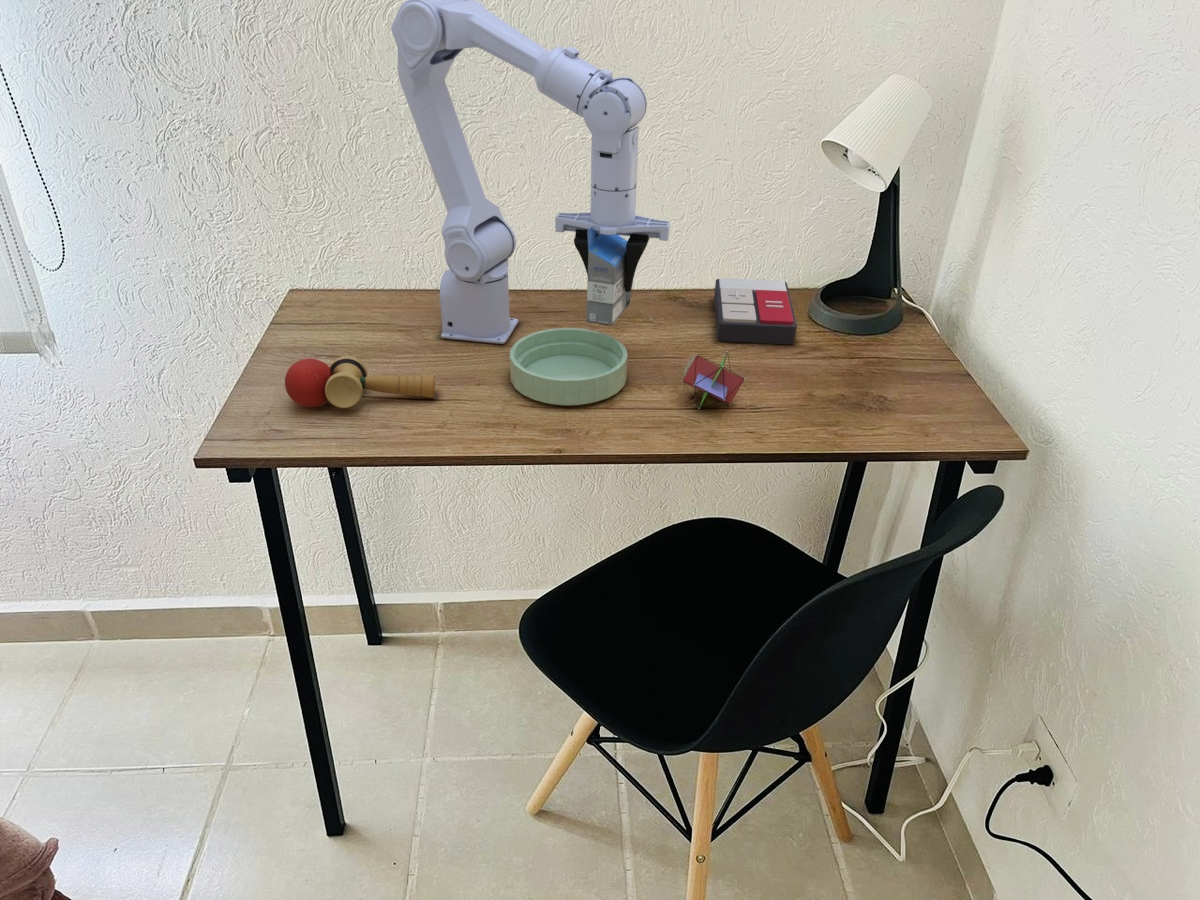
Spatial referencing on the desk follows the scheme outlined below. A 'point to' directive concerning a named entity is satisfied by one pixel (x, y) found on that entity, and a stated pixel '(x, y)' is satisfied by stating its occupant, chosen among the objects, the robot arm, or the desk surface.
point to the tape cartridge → (606, 278)
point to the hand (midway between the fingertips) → (610, 287)
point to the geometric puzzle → (712, 379)
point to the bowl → (568, 366)
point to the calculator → (754, 311)
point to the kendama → (347, 382)
